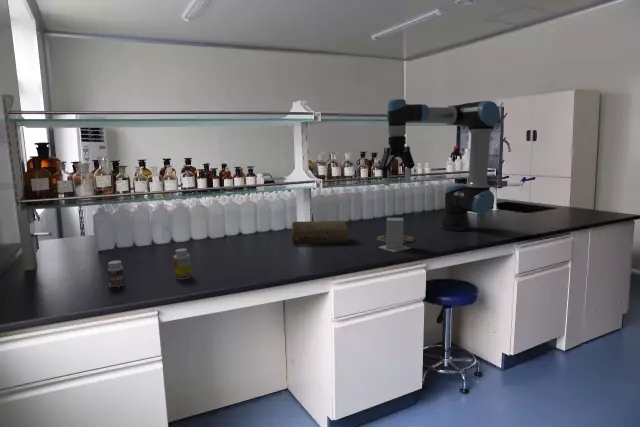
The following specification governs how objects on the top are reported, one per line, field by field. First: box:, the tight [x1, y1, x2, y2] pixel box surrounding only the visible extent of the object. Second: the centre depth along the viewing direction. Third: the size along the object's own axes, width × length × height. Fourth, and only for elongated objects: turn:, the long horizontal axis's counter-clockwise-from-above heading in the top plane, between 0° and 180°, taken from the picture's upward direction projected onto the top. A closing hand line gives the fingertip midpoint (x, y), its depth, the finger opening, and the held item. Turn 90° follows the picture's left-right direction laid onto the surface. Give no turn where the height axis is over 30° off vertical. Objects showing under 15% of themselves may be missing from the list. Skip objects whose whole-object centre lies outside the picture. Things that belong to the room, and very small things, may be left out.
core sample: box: [291, 220, 350, 245], centre depth 202 cm, size 14×26×10 cm, turn 95°
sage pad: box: [378, 244, 411, 253], centre depth 188 cm, size 10×10×1 cm
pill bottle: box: [107, 259, 125, 288], centre depth 144 cm, size 5×5×8 cm
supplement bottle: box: [173, 248, 192, 280], centre depth 152 cm, size 6×6×10 cm
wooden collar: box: [376, 234, 416, 244], centre depth 203 cm, size 13×13×2 cm
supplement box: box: [385, 217, 405, 249], centre depth 187 cm, size 7×7×13 cm
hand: (397, 184), depth 190 cm, fingers open, 13 cm apart
